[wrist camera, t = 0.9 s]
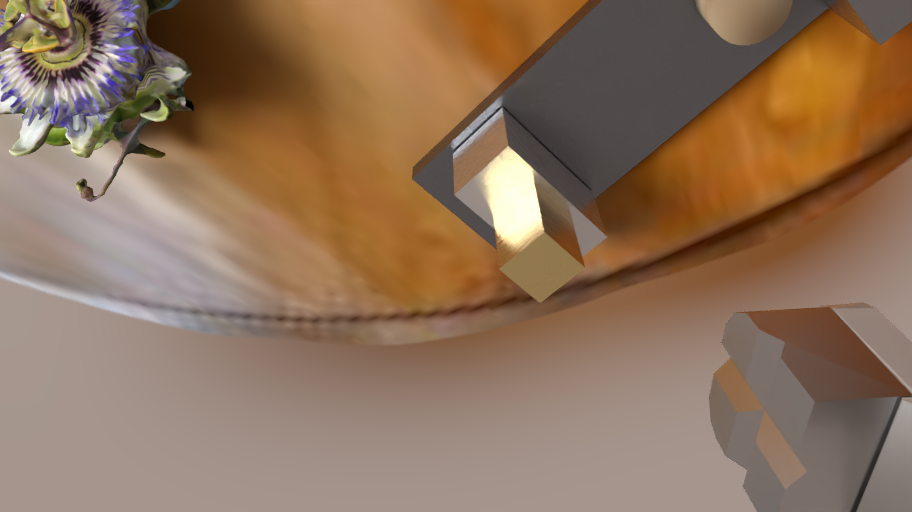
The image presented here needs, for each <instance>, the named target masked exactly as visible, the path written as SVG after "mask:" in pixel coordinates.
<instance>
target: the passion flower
mask: <svg viewBox="0 0 912 512" xmlns="http://www.w3.org/2000/svg"><path fill="white" fill-rule="evenodd" d="M180 1H181V0H9V1H7V2H9V3H8V5H7V6H6V11H4V10H2V9H0V11H1V12H3V15H1V16H0V18H2V19H3V22H0V114H16V113H22V114H25V115H23V116H22V119H23V123H22V128H21V130H20V135H21V136H20V138H19V139H18V140H17V141H16V143H15V144H14V145H13V146H12V149H10V150H9V152H10V153H11V154H13V155H14V156H23V155H27V154H30V153H33V152H35V151H36V150H37V149H39V148H40V147H41V146H42V145H43V144H44V143H47V144H50V145H53V146H64V145H68V144H71V145H72V146H71V147H72V148H71V150H72V151H73V152H74V153H75V154H76V155H78V156H80V157H84V158H88V157H90V155H91V154H92V152H93V150H96V149H98V148H100V147H102V146H103V145H104V144H105V143H108V142H109V141H110V140H111V139H113V140H116V141H117V142H119V143H120V146H121V148H122V149H123V152H122V154H121V156H120V158H119V160H118V162H117V164H116V165H115V166H114V168H113V172H112V174H111V176H110V177H109V179H108V180H107V182H106V183H105V185H104V187H103V189H102V190H101V193H100V194H99V195H98V196H94V195H93V189H92V188H90V187H88V186H87V181H86V179H81V180H80V181H79V182H77V183H76V188H77V189H78V190H79V192H80V193H81V197H82V198H84V199H86V200H87V201H94V200H96V199H98V198H99V197H101V196H103V195H104V194H105V192H106V190H107V188H108V187H109V185H110V184H111V182H112V181H113V179H114V177H115V176H116V174H117V172H118V169H119V167H120V166H121V165H122V164H123V159H124V158H125V156H126V155H127V154H130V153H135V154H144V155H148V156H150V157H154V158H161V157H163V156H165V153H163V152H160V151H158V150H156V149H153V148H149V147H147V146H145V145H143V144H141V143H140V142H139V140H138V135H139V133H140V131H141V129H142V128H143V127H144V126H146V125H147V124H148V123H150V122H151V121H155V122H159V121H164V120H168V119H170V118H171V117H172V116H173V111H177V110H178V111H182V110H183V111H187V112H188V111H191V110H192V111H193V110H194V106H193V104H192V101H190V100H189V99H188V98H187V97H185V95H184V90H183V86H184V82H185V81H186V79H187V78H188V77H190V76H191V75H192V71H191V69H190V67H189V65H188V64H187V62H186V61H185V60H183V59H182V58H181V57H178V56H176V55H175V54H173V53H170V52H168V51H167V50H165V49H163V48H161V47H159V46H157V45H156V44H154V43H153V42H152V41H150V39H149V38H148V37H147V34H146V25H147V19H148V18H149V16H151V15H152V14H153V13H155V12H158V11H160V10H167V9H171V8H173V7H174V6H175V5H177V4H179V3H180ZM166 95H174V96H175V97H176V98H177V99H175V100H173V99H169V98H168V97H167V96H166ZM143 111H145V112H144V113H142V112H143ZM139 115H141V116H142V117H141V119H140V121H139V122H138V124H137V125H136V127H135V128H134V130H133V131H132V132H126V131H125V130H124V129H123V128H122V122H123V121H125V120H128V119H135V118H138V117H139Z"/></svg>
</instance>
